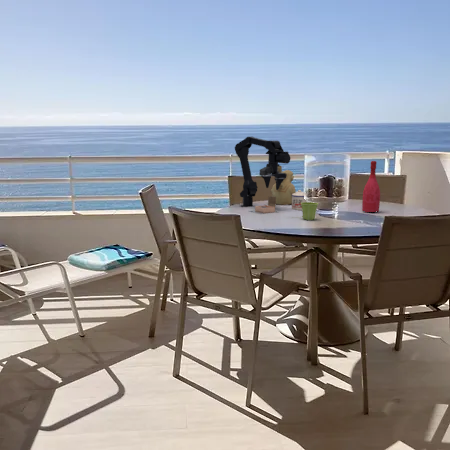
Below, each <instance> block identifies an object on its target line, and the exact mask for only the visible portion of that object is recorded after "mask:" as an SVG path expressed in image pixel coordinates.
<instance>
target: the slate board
mask: <svg viewBox="0 0 450 450" xmlns="http://www.w3.org/2000/svg"><path fill="white" fill-rule="evenodd" d="M248 212H250V213H254V214H258V215H265V214H267V215H268V214H269V213H260V212H256V211H255V210H254V209H253V210H248ZM276 213H277V214H278V210H275V212H273V213H272V214H276Z"/></svg>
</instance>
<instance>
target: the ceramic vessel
mask: <svg viewBox="0 0 450 450" xmlns="http://www.w3.org/2000/svg"><path fill="white" fill-rule="evenodd" d="M282 167H283V166H282V165H280V166H278V171H279V173H286V178H285V179H284V180H283V182H282V183H281V185H280V187H279V189H278V190H276V182H275V183H274V184H273V185H272V186H271V189H270V193H271V194H272V195H271V197H273V196H274V197H276V205H277V206H280V205H282V206H289V205H292V194H294V193H296V192H297V191H296V186H295V185H294V184H293V183H292V182H293V181H294V172H293V171H292V170H289V169H287V170H284V171H282V169H283V168H282Z"/></svg>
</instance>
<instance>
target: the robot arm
mask: <svg viewBox="0 0 450 450" xmlns="http://www.w3.org/2000/svg"><path fill="white" fill-rule="evenodd" d="M253 145H255V146H259V147H263V148H265V149H266V150H267V151H266V152H265V155H268V158H267V159H268V161H267V162H268V163H267V164H266V165H265V166H264V167H262V168H260V169H259V176H260V178H262V179H263V180H264V184H265V187H266V189H268V188H269V186H270V183H271V179H272V177H274V178H273V179H274V181H275V183H276V190H278V189H279V187H280V185H281V183H282V182H283V180H284V179H285V178H286V173H279V171H278V166H281V164H285V165H286V164H290V161H291V155H290V154H289V151H284V149H283V147H282V145H281V142H280V141H279V140H267V139H262V138H258V137H254V136H247V137H245V138H244V139H243V140H240V141H239V142H238V143H236V144H235V146H234V151H235V154H236V156H237V157H238V158H239V163H240V166H241V172H242V176H243V185H242V191H241V192H239V196H240V197H239V198H242V204H241V205H240V207H243V208H251V207H254V204H253V203H254V198H253V197H255V196H256V194H257V192H258V186H257V185H258V183H257V182H256V181H254V180H253V177H252V172H251V168H250V167H251V166H250V163H249V153H250V148H251V147H252V146H253Z"/></svg>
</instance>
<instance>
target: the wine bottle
mask: <svg viewBox="0 0 450 450" xmlns="http://www.w3.org/2000/svg"><path fill="white" fill-rule="evenodd" d="M377 163H378V162H377V160H371V161H370V168H369V169H370V175H369V178H368V179H367V181H366V184H365V185H364V189H363V191H362V205H361V207H362V208H361V211H362V212H363V211H365V212H364V213H366V212H376V211H378V212H379V211H380V203H381V202H380V201H381V189H380V185H379V183H378V180H377V178H376V177H377V176H376V169H377Z"/></svg>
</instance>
